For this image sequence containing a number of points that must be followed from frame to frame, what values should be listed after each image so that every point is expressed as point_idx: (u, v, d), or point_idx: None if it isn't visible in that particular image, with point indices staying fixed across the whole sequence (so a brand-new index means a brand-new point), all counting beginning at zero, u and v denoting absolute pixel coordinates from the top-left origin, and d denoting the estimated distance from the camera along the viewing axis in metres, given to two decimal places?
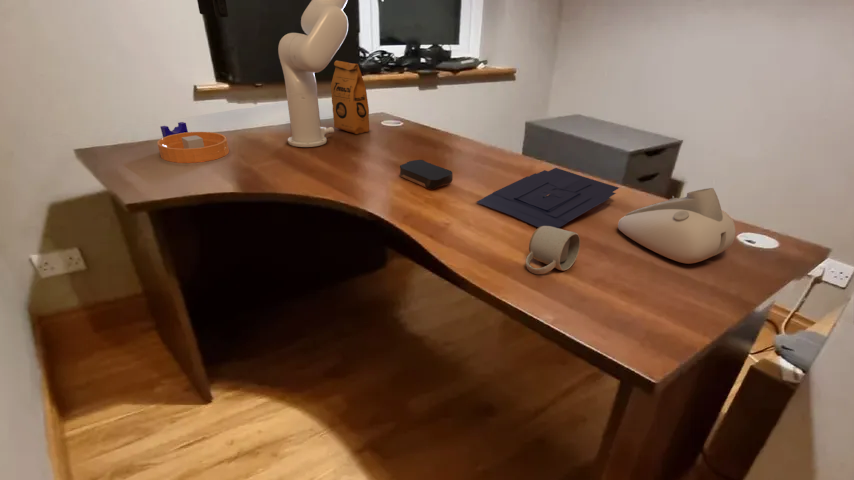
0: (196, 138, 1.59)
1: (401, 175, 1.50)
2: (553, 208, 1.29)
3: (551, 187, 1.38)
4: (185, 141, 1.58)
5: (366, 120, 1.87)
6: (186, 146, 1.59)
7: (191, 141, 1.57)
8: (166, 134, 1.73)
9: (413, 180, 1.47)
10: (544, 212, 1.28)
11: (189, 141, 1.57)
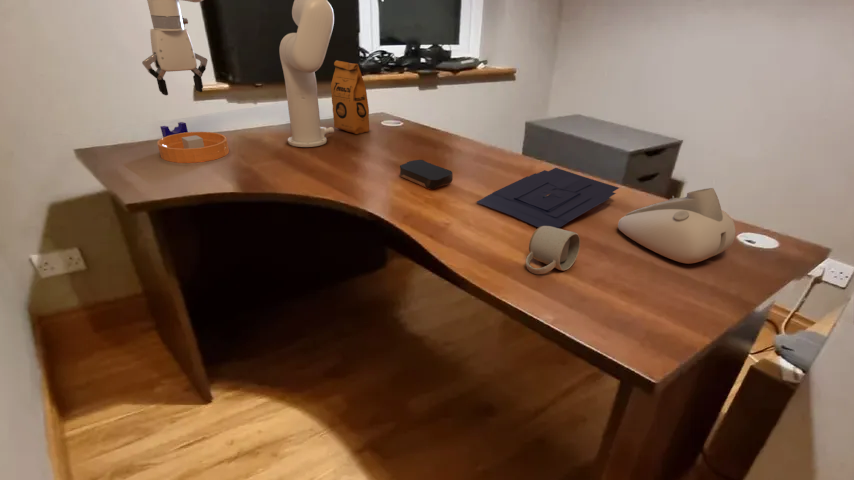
0: (196, 138, 1.59)
1: (401, 175, 1.50)
2: (553, 208, 1.29)
3: (551, 187, 1.38)
4: (185, 141, 1.58)
5: (366, 120, 1.87)
6: (186, 146, 1.59)
7: (191, 141, 1.57)
8: (166, 134, 1.73)
9: (413, 180, 1.47)
10: (544, 212, 1.28)
11: (189, 141, 1.57)
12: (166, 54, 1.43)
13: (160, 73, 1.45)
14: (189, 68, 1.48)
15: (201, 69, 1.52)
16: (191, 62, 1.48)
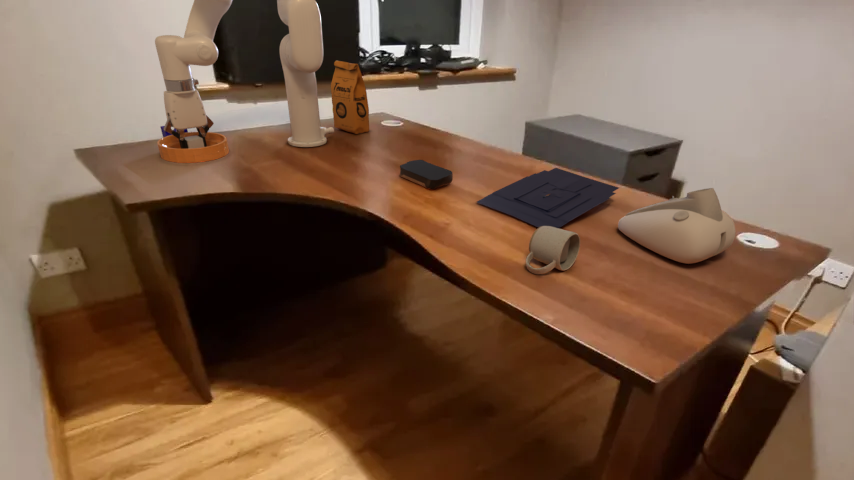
0: (196, 138, 1.59)
1: (401, 175, 1.50)
2: (553, 208, 1.29)
3: (551, 187, 1.38)
4: None
5: (366, 120, 1.87)
6: None
7: (191, 141, 1.57)
8: (166, 134, 1.73)
9: (413, 180, 1.47)
10: (544, 212, 1.28)
11: (189, 141, 1.57)
12: (179, 114, 1.52)
13: (180, 134, 1.55)
14: (200, 125, 1.57)
15: (205, 130, 1.60)
16: (202, 119, 1.57)
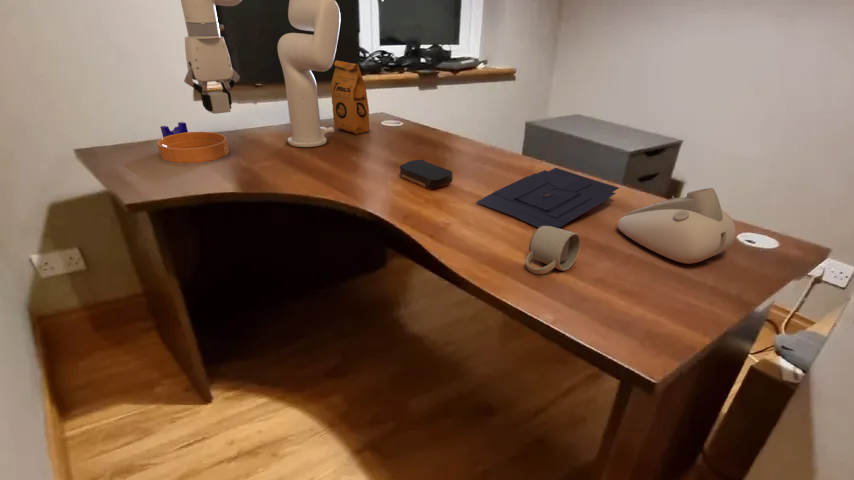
0: (220, 93, 1.40)
1: (401, 175, 1.49)
2: (553, 208, 1.29)
3: (551, 187, 1.38)
4: None
5: (366, 120, 1.87)
6: None
7: (215, 96, 1.38)
8: (166, 134, 1.73)
9: (413, 180, 1.47)
10: (544, 212, 1.28)
11: (212, 96, 1.38)
12: (202, 64, 1.33)
13: (203, 88, 1.36)
14: (225, 78, 1.38)
15: (230, 84, 1.41)
16: (227, 71, 1.38)
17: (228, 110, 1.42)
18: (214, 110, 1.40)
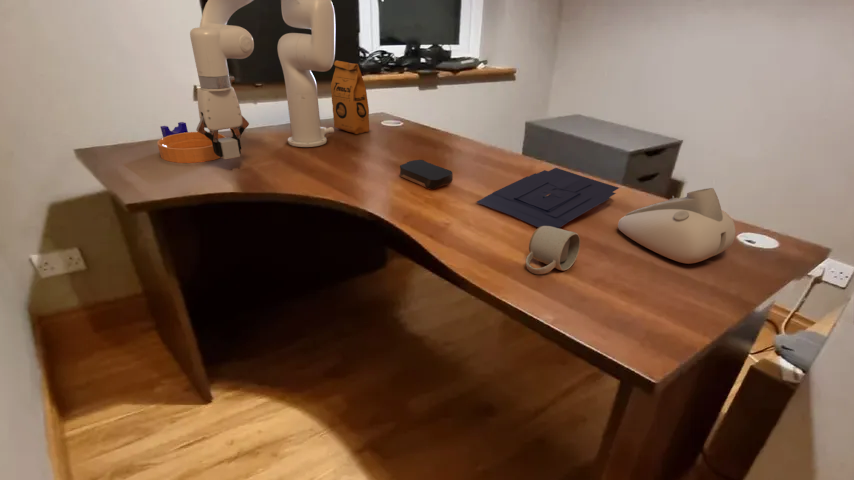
0: (230, 140, 1.46)
1: (401, 175, 1.50)
2: (553, 208, 1.29)
3: (551, 187, 1.38)
4: None
5: (366, 120, 1.87)
6: None
7: (225, 143, 1.45)
8: (166, 134, 1.73)
9: (413, 180, 1.47)
10: (544, 212, 1.28)
11: (223, 143, 1.44)
12: (213, 114, 1.39)
13: (214, 136, 1.43)
14: (235, 126, 1.45)
15: (240, 131, 1.47)
16: (237, 119, 1.44)
17: (238, 155, 1.48)
18: (224, 156, 1.46)
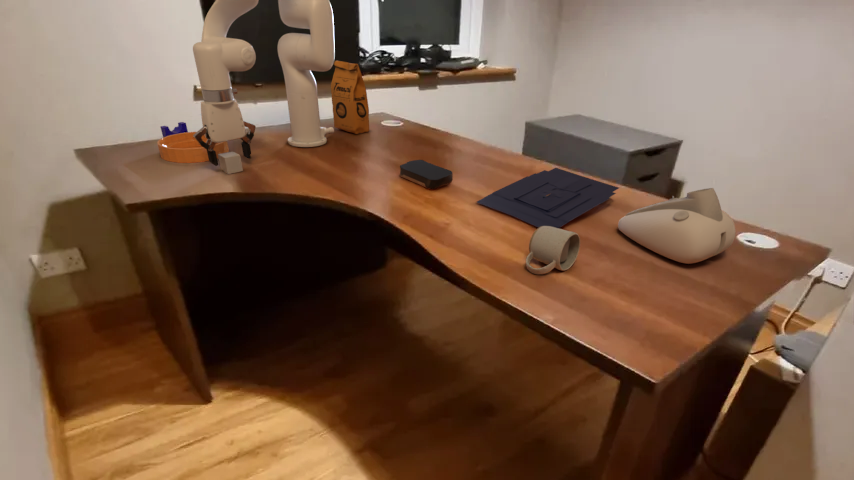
0: (233, 155, 1.48)
1: (401, 175, 1.50)
2: (553, 208, 1.29)
3: (551, 187, 1.38)
4: (222, 158, 1.47)
5: (366, 120, 1.87)
6: (223, 163, 1.48)
7: (228, 158, 1.47)
8: (166, 134, 1.73)
9: (413, 180, 1.47)
10: (544, 212, 1.28)
11: (226, 158, 1.47)
12: (217, 126, 1.41)
13: (211, 145, 1.43)
14: (238, 137, 1.47)
15: (249, 136, 1.50)
16: (240, 131, 1.46)
17: (241, 170, 1.51)
18: (228, 171, 1.48)
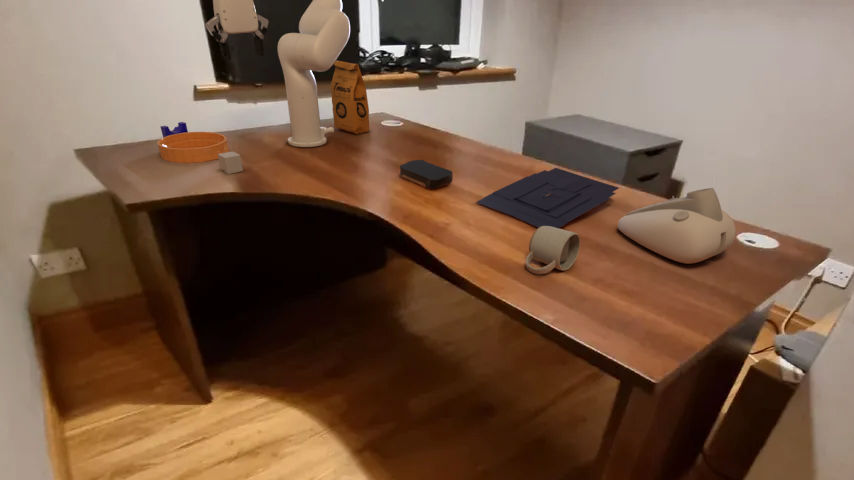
0: (233, 155, 1.48)
1: (401, 175, 1.50)
2: (553, 208, 1.29)
3: (551, 187, 1.38)
4: (222, 158, 1.47)
5: (366, 120, 1.87)
6: (223, 163, 1.48)
7: (228, 158, 1.47)
8: (166, 134, 1.73)
9: (413, 180, 1.47)
10: (544, 212, 1.28)
11: (226, 158, 1.47)
12: (229, 15, 1.37)
13: (223, 36, 1.39)
14: (251, 30, 1.42)
15: (262, 31, 1.45)
16: (253, 23, 1.42)
17: (241, 170, 1.51)
18: (228, 171, 1.48)
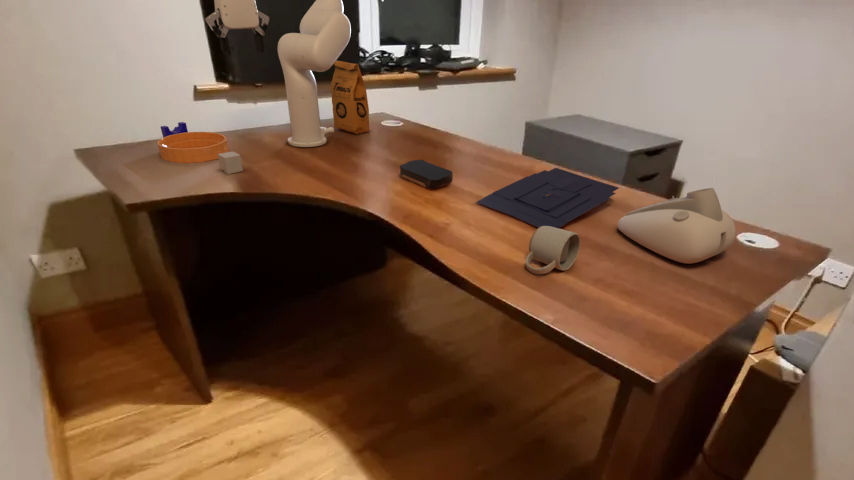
0: (233, 155, 1.48)
1: (401, 175, 1.49)
2: (553, 208, 1.29)
3: (551, 187, 1.38)
4: (222, 158, 1.47)
5: (366, 120, 1.87)
6: (223, 163, 1.48)
7: (228, 158, 1.47)
8: (166, 134, 1.73)
9: (413, 180, 1.47)
10: (544, 212, 1.28)
11: (226, 158, 1.47)
12: (230, 10, 1.37)
13: (223, 31, 1.39)
14: (252, 26, 1.42)
15: (263, 28, 1.45)
16: (254, 19, 1.42)
17: (241, 170, 1.51)
18: (228, 171, 1.48)
